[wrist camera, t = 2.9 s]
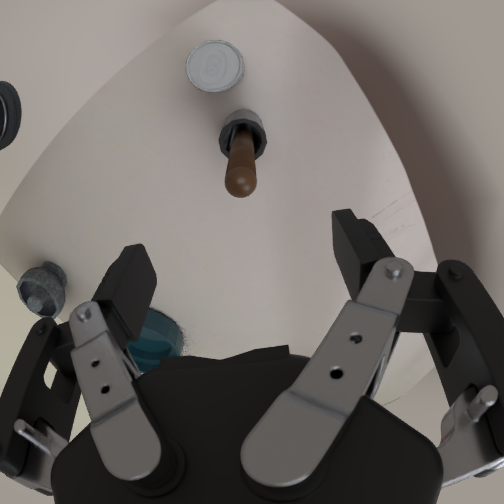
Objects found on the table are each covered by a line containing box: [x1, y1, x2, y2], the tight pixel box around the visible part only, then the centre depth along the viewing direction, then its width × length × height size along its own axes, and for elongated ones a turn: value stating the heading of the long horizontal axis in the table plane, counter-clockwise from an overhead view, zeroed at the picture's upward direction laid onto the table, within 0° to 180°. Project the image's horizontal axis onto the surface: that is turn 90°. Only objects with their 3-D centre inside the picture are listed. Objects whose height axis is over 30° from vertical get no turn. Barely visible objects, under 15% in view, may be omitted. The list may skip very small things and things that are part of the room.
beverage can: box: [186, 40, 244, 93], centre depth 25 cm, size 5×5×12 cm
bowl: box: [126, 309, 184, 373], centre depth 53 cm, size 15×15×5 cm
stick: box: [225, 123, 257, 198], centre depth 26 cm, size 2×2×20 cm
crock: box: [219, 109, 267, 160], centre depth 31 cm, size 5×5×8 cm
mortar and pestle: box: [16, 262, 67, 319], centre depth 42 cm, size 11×9×12 cm
